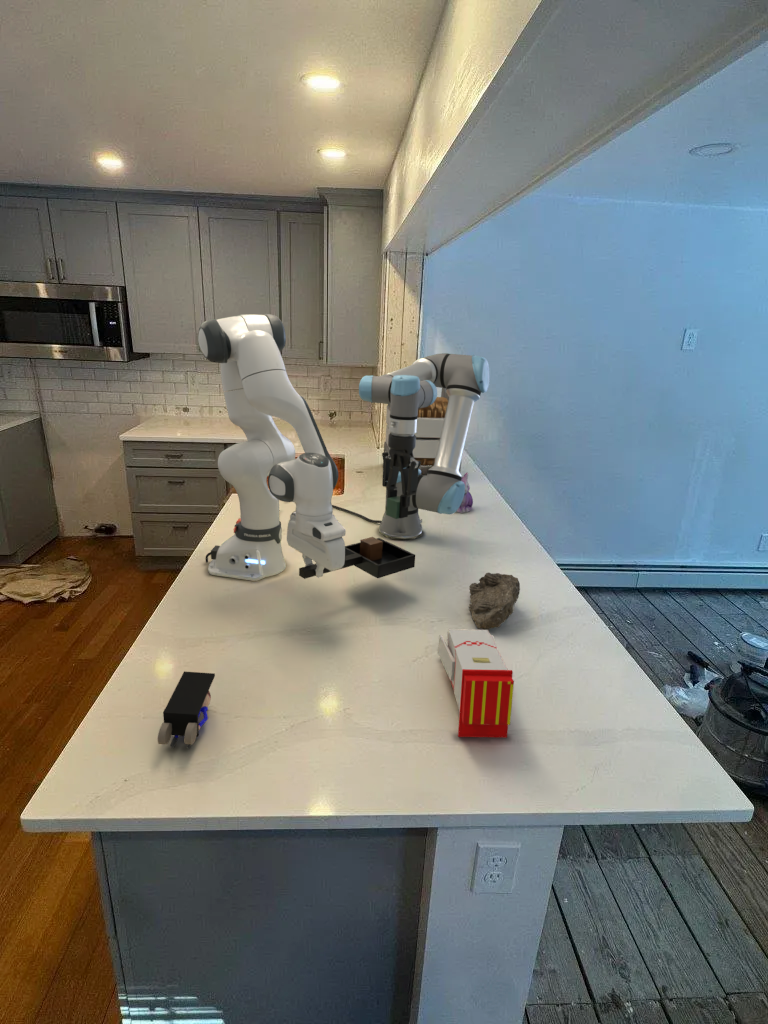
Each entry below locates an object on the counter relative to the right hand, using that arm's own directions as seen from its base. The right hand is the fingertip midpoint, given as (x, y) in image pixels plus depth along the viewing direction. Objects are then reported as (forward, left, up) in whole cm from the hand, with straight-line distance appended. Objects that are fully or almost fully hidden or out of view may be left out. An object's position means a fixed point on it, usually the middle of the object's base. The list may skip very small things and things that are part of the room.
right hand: (397, 514), depth 162 cm
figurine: (-29, +62, -19) cm, 71 cm away
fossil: (+31, +7, -19) cm, 38 cm away
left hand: (+5, -32, -7) cm, 33 cm away
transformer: (-77, +85, -19) cm, 116 cm away
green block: (0, 0, 0) cm, 0 cm away
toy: (+50, -23, -19) cm, 59 cm away
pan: (+5, -20, -10) cm, 23 cm away
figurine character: (+25, -73, -19) cm, 80 cm away
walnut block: (+2, -11, -10) cm, 15 cm away
